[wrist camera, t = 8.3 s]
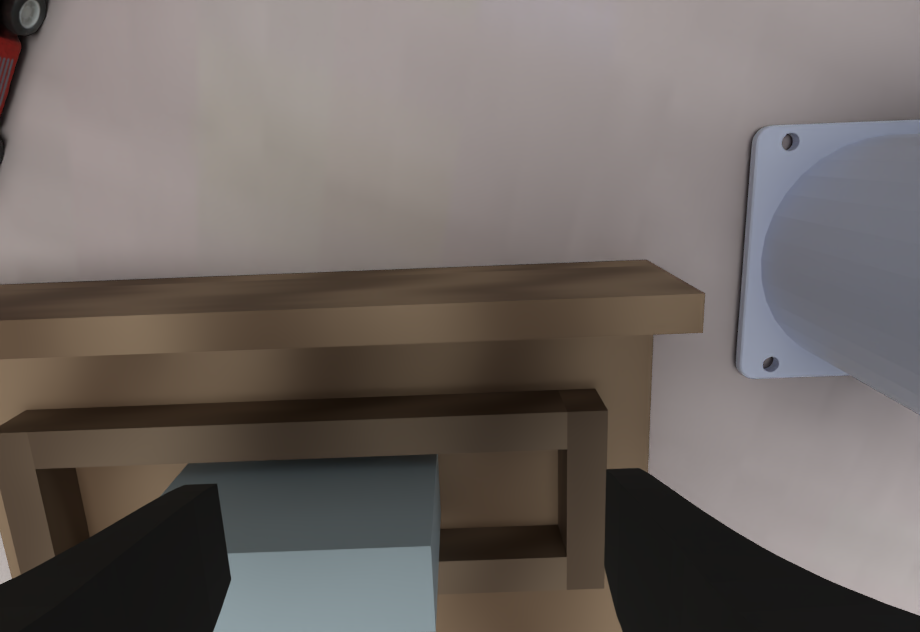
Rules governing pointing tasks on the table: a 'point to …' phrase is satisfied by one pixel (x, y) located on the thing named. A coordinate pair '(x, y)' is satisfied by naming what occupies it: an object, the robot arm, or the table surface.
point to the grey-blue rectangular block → (328, 542)
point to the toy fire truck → (15, 38)
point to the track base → (351, 407)
